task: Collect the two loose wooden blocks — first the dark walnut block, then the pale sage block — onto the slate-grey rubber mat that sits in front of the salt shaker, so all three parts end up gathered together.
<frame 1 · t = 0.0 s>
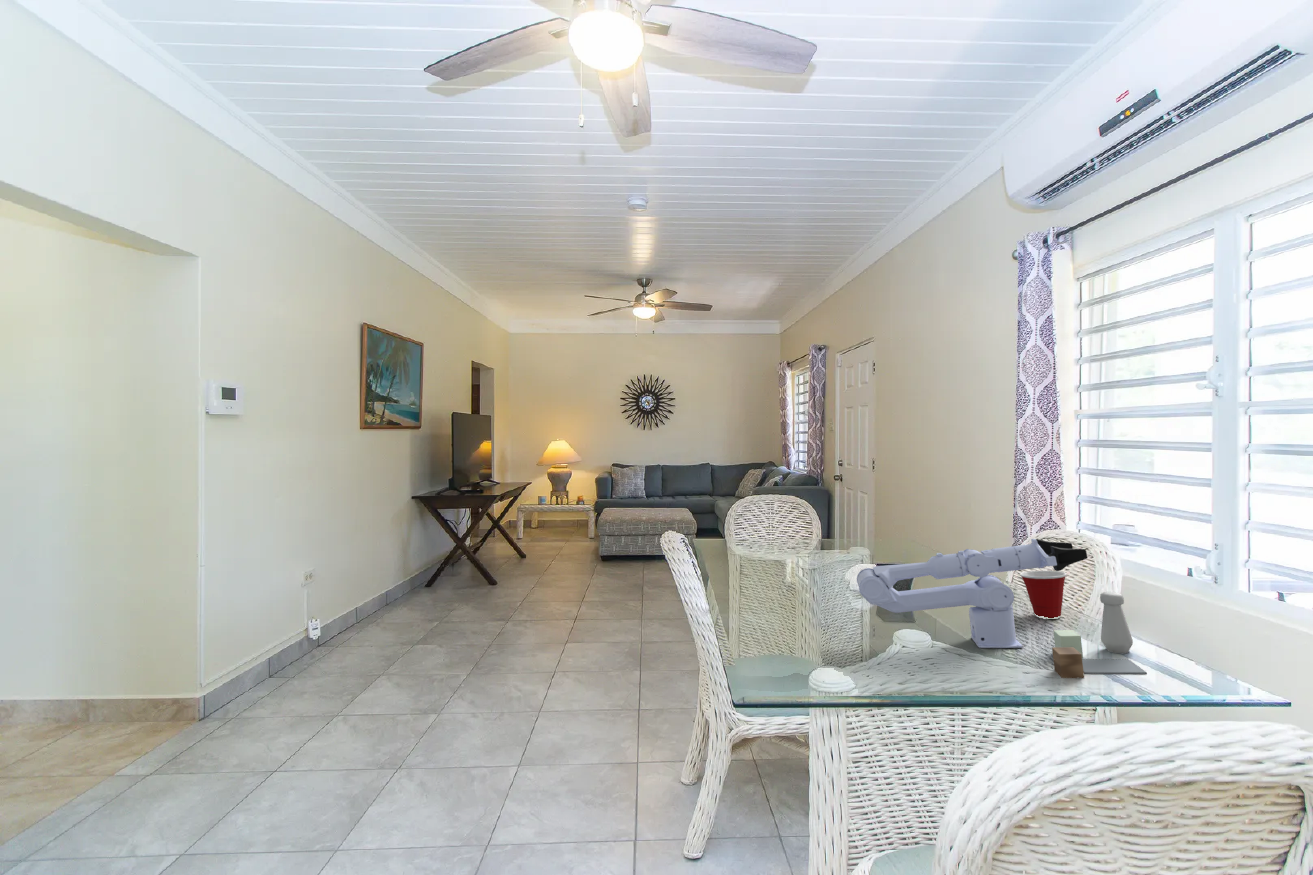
hand: (1079, 550, 140), 22 cm above the table, tool horizontal, fingers open, 7 cm apart
salt shaker: (1117, 651, 133), on the table
sage block: (1069, 655, 133), on the table
walnut block: (1069, 674, 124), on the table
slate mat: (1106, 666, 125), on the table
plastic cup: (1047, 617, 159), on the table
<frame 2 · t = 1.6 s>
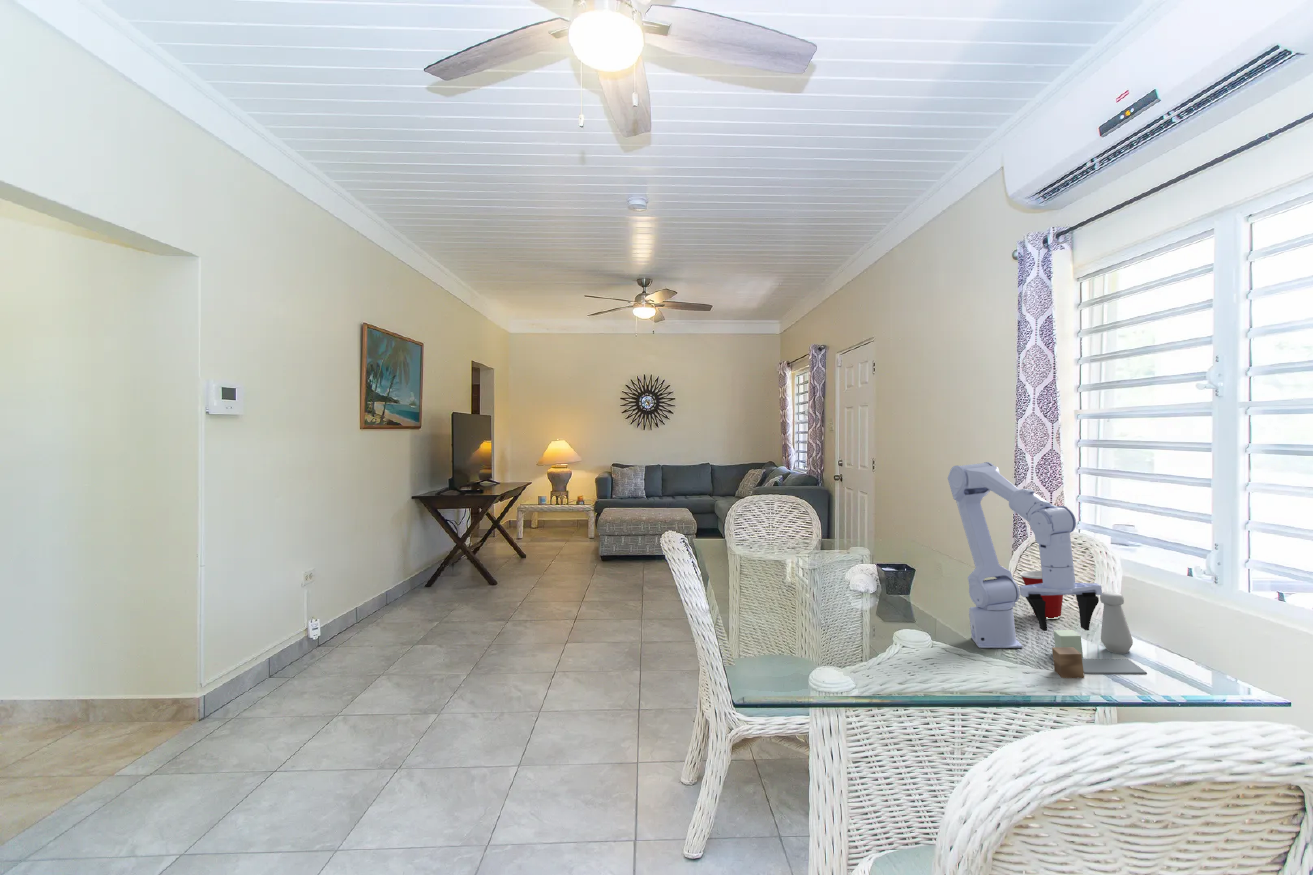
hand: (1064, 629, 124), 9 cm above the table, tool pointing down, fingers open, 7 cm apart
nothing on the table moved.
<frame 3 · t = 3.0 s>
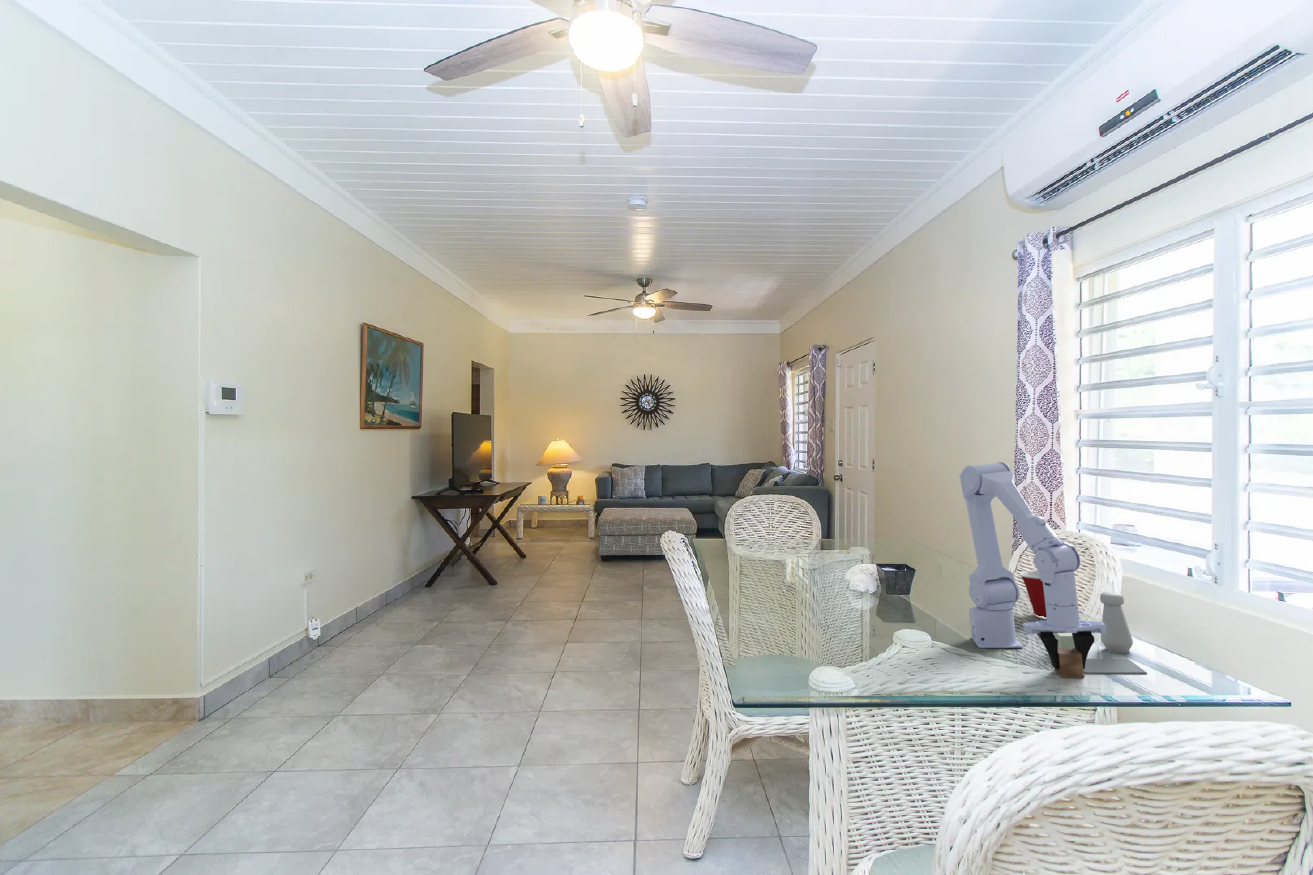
hand: (1068, 667, 124), 1 cm above the table, tool pointing down, fingers closed on walnut block, 4 cm apart
walnut block: (1069, 674, 124), on the table, touching gripper
everything else where it was.
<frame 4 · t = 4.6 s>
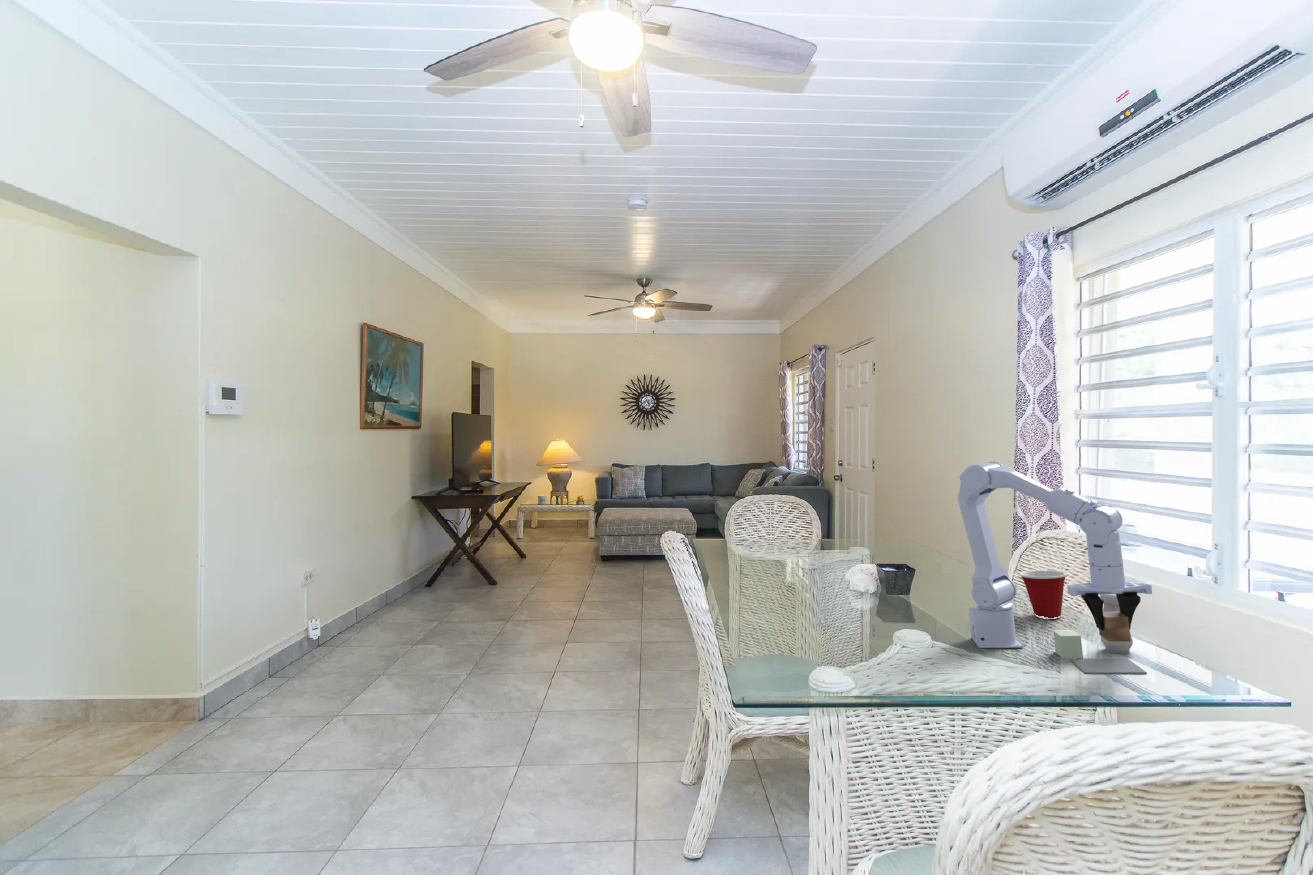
hand: (1113, 628, 124), 8 cm above the table, tool pointing down, fingers closed on walnut block, 4 cm apart
walnut block: (1114, 638, 124), point 7 cm above the table, touching gripper
everything else where it was.
when the fingers open (3 cm above the table, at t = 6.1 s): walnut block stays where it is, resting on slate mat.
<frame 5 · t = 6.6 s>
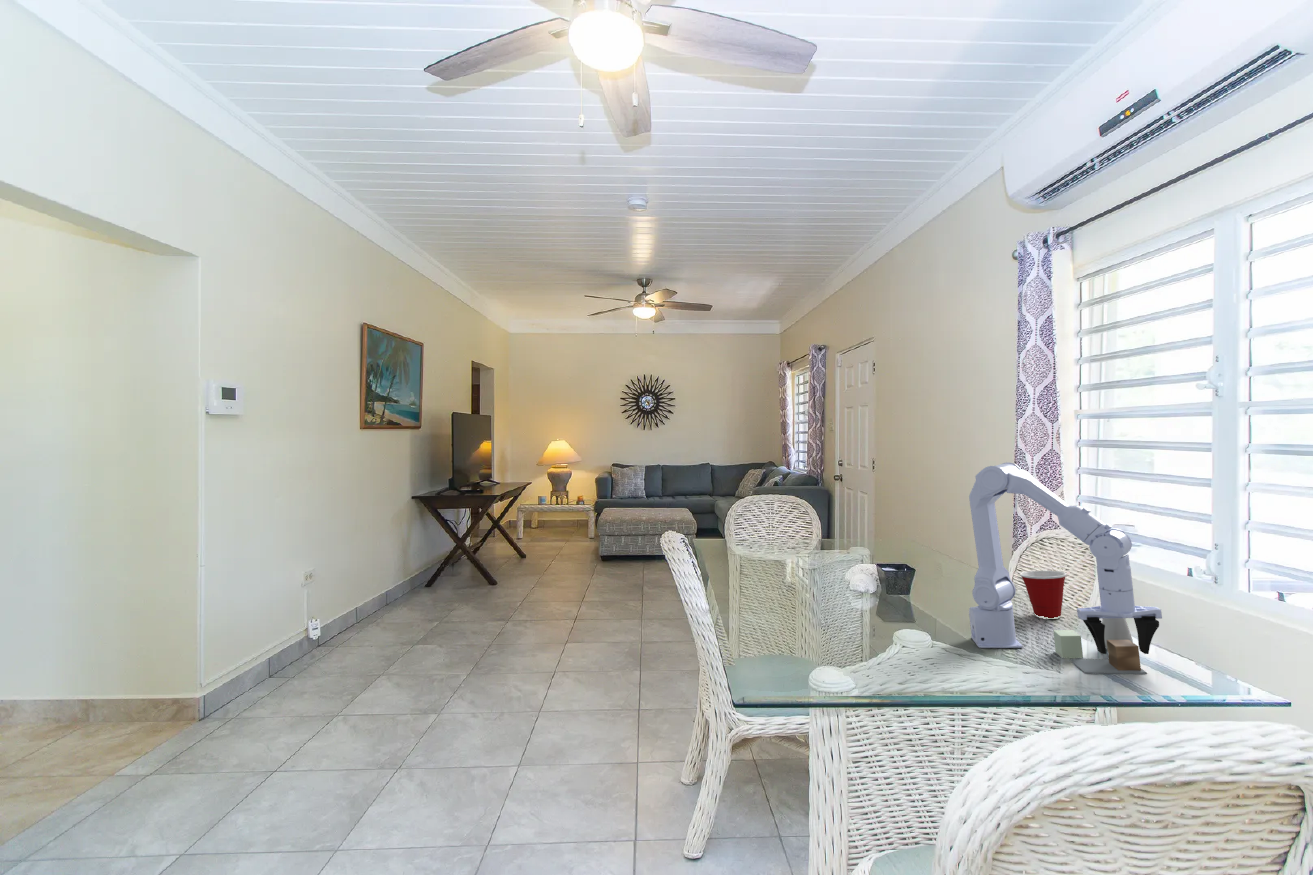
hand: (1122, 652, 124), 3 cm above the table, tool pointing down, fingers open, 7 cm apart
walnut block: (1124, 666, 124), resting on slate mat
everything else where it was.
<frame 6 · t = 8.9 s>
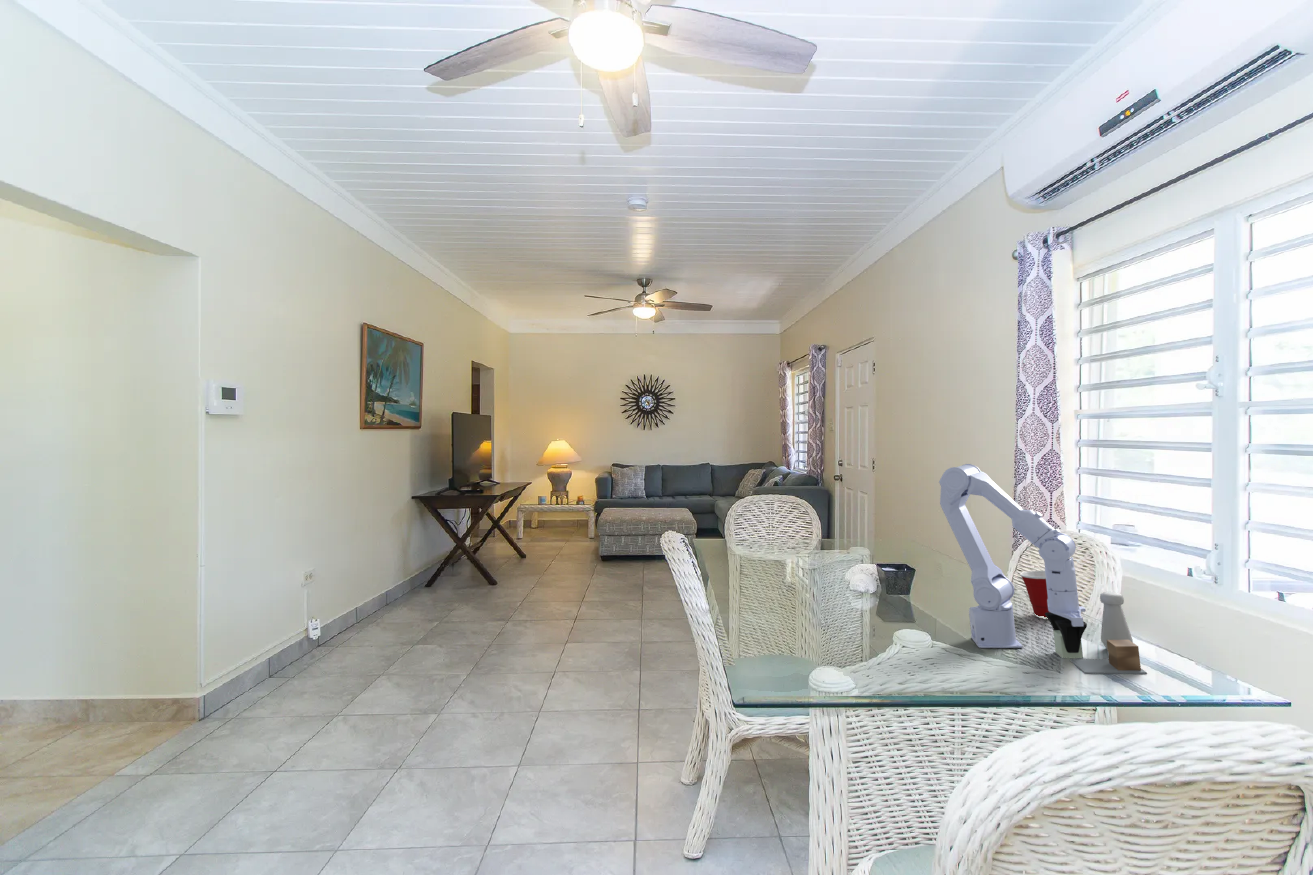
hand: (1068, 648, 133), 1 cm above the table, tool pointing down, fingers closed on sage block, 4 cm apart
sage block: (1069, 655, 133), on the table, touching gripper
everything else where it was.
when the fingers open (3 cm above the table, at t = 12.0 s): sage block stays where it is, resting on slate mat.
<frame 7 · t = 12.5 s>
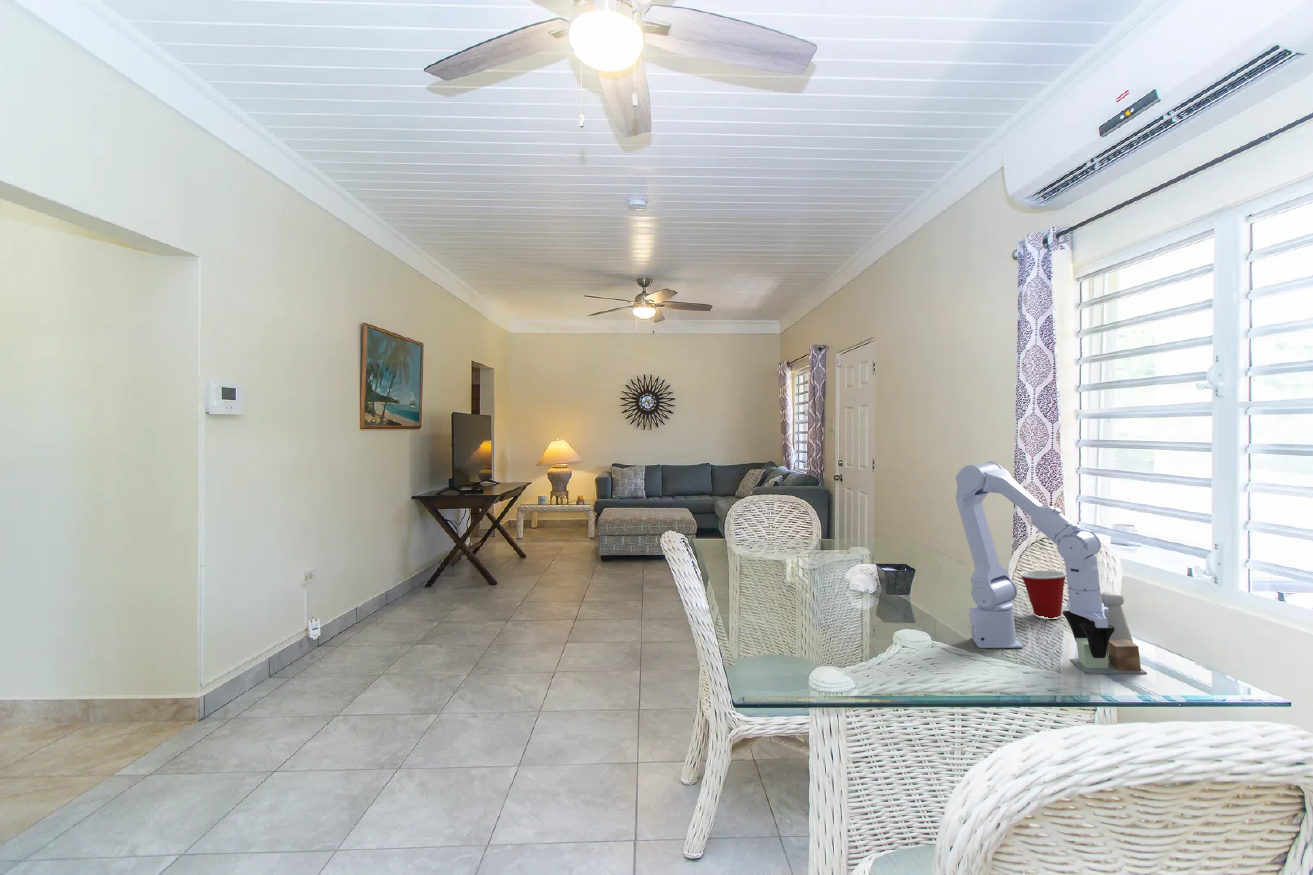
hand: (1090, 650, 127), 3 cm above the table, tool pointing down, fingers open, 7 cm apart
sage block: (1093, 664, 127), resting on slate mat
everything else where it was.
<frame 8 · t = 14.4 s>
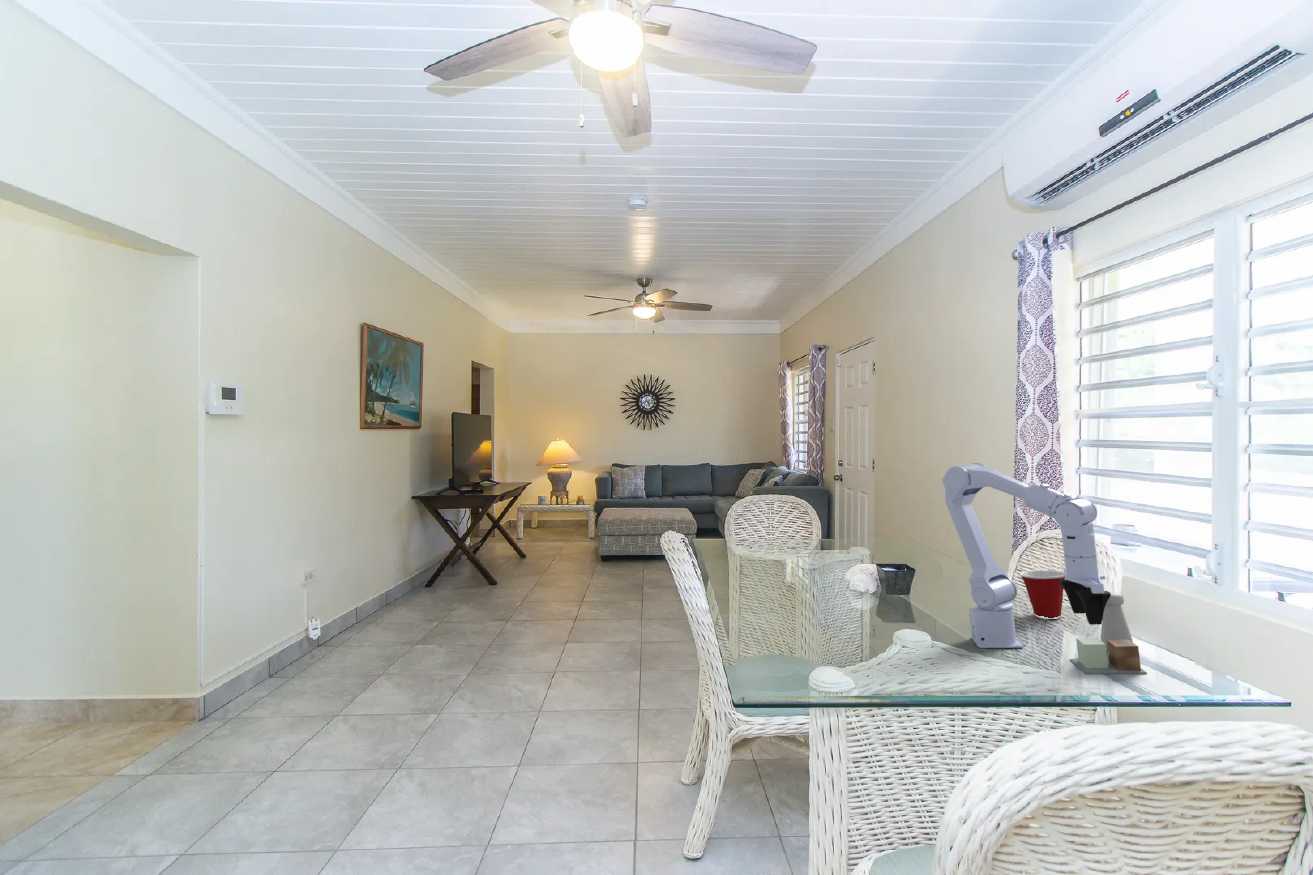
hand: (1087, 618, 127), 10 cm above the table, tool pointing down, fingers open, 7 cm apart
nothing on the table moved.
at the end: walnut block inside the target area (3.1 cm from its centre), resting on slate mat; sage block inside the target area (2.4 cm from its centre), resting on slate mat; sage block tilted 0° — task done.
